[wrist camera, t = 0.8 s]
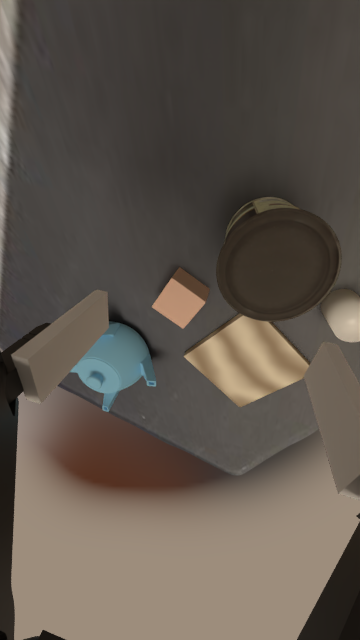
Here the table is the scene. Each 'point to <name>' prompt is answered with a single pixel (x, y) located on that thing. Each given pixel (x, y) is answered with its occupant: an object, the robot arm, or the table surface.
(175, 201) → the table surface
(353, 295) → the off-white cylinder
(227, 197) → the table surface
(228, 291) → the coffee can
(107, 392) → the teapot
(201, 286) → the terracotta block
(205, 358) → the birch board
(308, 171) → the table surface
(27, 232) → the table surface
